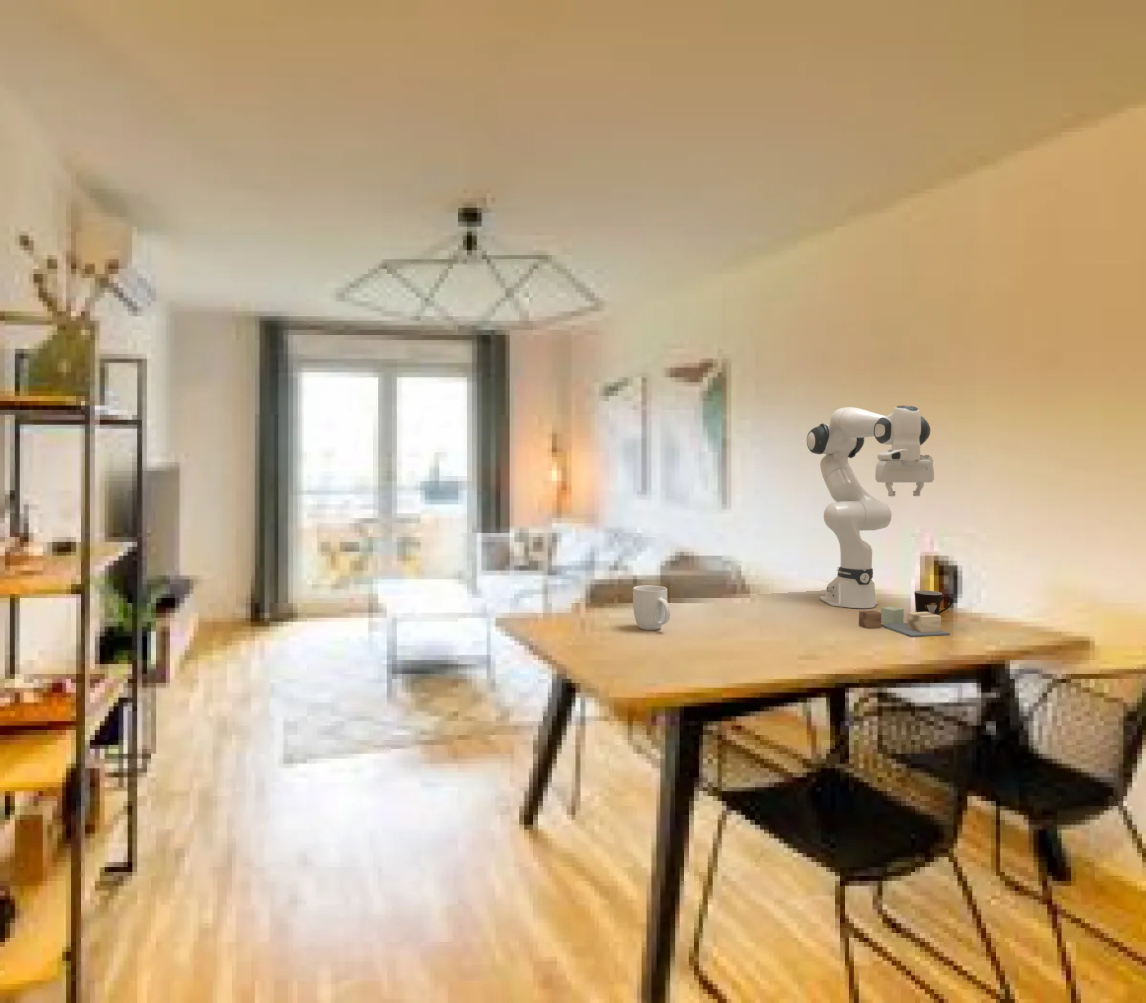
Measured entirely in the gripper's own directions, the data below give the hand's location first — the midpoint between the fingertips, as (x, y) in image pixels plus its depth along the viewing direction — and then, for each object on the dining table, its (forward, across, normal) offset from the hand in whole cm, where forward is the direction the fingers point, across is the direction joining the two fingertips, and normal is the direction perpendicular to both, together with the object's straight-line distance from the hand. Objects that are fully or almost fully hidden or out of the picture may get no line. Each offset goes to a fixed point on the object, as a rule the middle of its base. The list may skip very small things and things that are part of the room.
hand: (904, 496), depth 274 cm
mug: (+43, +85, -9) cm, 95 cm away
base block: (+42, 0, +12) cm, 44 cm away
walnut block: (+43, +13, +2) cm, 45 cm away
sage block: (+43, +2, -2) cm, 43 cm away
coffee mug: (+43, -12, +1) cm, 45 cm away
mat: (+43, +2, +10) cm, 44 cm away
